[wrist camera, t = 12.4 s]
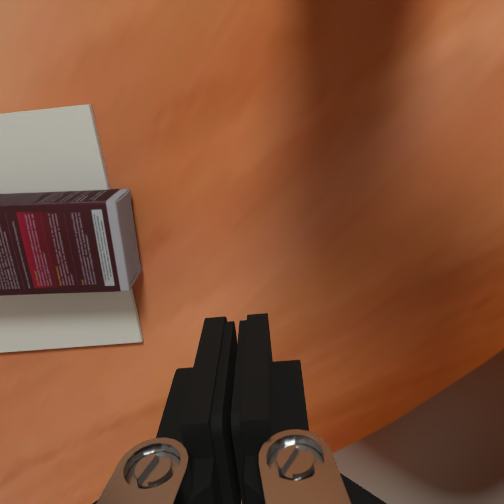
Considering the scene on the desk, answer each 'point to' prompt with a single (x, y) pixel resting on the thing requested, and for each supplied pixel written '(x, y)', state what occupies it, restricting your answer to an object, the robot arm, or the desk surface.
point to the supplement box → (67, 242)
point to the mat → (59, 180)
